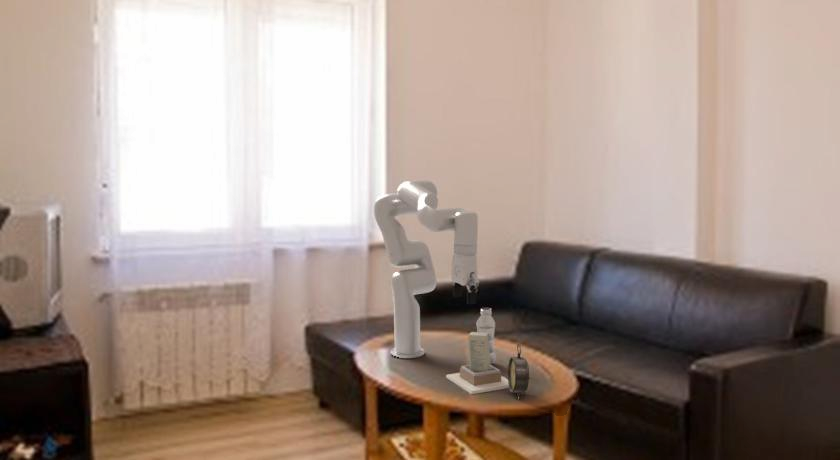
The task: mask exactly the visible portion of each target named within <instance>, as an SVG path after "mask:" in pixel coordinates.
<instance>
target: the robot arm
mask: <svg viewBox="0 0 840 460" xmlns="http://www.w3.org/2000/svg"><path fill="white" fill-rule="evenodd" d="M438 206H439V199H438V189H437V186H436V184H434V183H433V182H432V181H430V180H427V179H425V180H408V181H404V182H403V183H401V184H400V185H399V186H398V188H397V191H396V192H395V193H388V194H383V195H380V196H378V197H377V199H376V200H375V202H374V206H373V214H374V219H375V222H376V223H377V226H378V228H379V230H380V232H381V235H382V238H383V243H384V247H385V250H386V255H387V258H388V261H389V263H390V266H392V267H394V268H404V267H412V266H414V268H408V269H407V268H406V269H401V270H398V271H396V272H394V273H393V274H392V276H391V278H390V288H391V291H392V292H391V293H392V300H393V327H394V329H393V330H394V331H393V333H394V334H393V335H394V337H393V338H394V342H393V343H394V348H391V350H390V355H391V354H392V355H393V356H392V355H391V356H392V357H394V356H396V357H395V358H397V357H399V358H398V359H415V358H420V357H423V355H425V349H424V348H422V347H421V311H420V310H421V309H420V304H419V303H418V300H417V299H416V298H415V295H420V294H426V293H427V294H428V293H430V292H432V291H434V290H435V289H436V287H437V283H438V281H437V274H436V271H435V268H434V264H433V260H432V256H431V252H430V249H429V247H428V245H427V244H426V243H425V242H424V241H423V240H420V239H412V240H410V239H408V238H407V235H406V230H405V228H404V226H403V225H402V224H401V222H399V220H398V219H396V217H402V216H403V217H404V216H415V215H417V219H418V221H419V223H420V225H422V226H423V227H424V228H426V229H427V230H429V231H431V232H434V233H444V232H445V233H446V232H454V234H453V236H454V237H453V238H454V239H453V241H454V242H453V256H452V262H451V274H450V275H451V277H450V278H451V280H452V295H453V296H452V297H453V298H461V297H463V287H464V286H466V289H467V292H466V305H475V304H477V292H478V289H479V285H480V280H479V278H478V261H477V255H478V230H479V229H478V228H479V226H478V224H479V216H478V213H476V212H475V211H472V210H467V209H464V208H463V207H462V208H461V207H452V208H449V207H448V208H440V209H437V208H438Z"/></svg>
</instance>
